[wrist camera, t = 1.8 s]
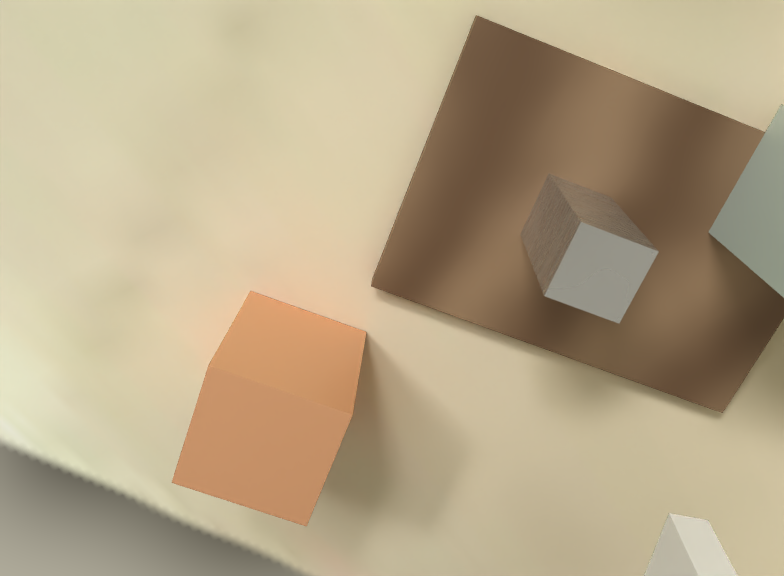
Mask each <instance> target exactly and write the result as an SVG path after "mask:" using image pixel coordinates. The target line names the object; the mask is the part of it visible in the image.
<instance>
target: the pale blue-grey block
mask: <svg viewBox="0 0 784 576" xmlns="http://www.w3.org/2000/svg"><path fill="white" fill-rule="evenodd" d="M709 233H710V234H711V235H712V236H713V237H714V238H716V239H717V240H718V241H719V242H720V243H721V244H722V245H724V246H725V247H726V248H727V249H728V250H729V251H730V252H732V253H733V254H734V255H735V256H736V257H737V258H739V259H740V260H741V261H742V262H743V263H744V264H745V265H747V266H748V267H749V268H750V269H751V270H752V271H753V272H755V273H756V274H757V275H758V276H759V277H760V278H762V279H763V280H764V281H765V282H766V283H767V284H768V285H770V286H771V287H772V288H773V289H774V290H775V291H776V292H778V293H779V294H780V295H781V296H782V297H783V298H784V105H783V104H781V106H780V108H779V110H778V111H777V113H776V115H775V117H774V118H773V120H772V122H771V124H770V125H769V127H768V129H767V131H766V132H765V134H764V136H763V138H762V139H761V141H760V143H759V145H758V146H757V148H756V150H755V152H754V153H753V155H752V157H751V159H750V160H749V162H748V164H747V166H746V167H745V169H744V171H743V173H742V174H741V176H740V178H739V180H738V181H737V183H736V185H735V186H734V188H733V190H732V192H731V193H730V195H729V197H728V199H727V200H726V202H725V204H724V206H723V207H722V209H721V211H720V213H719V214H718V216H717V218H716V220H715V221H714V223H713V225H712V227H711V228H710V230H709Z"/></svg>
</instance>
